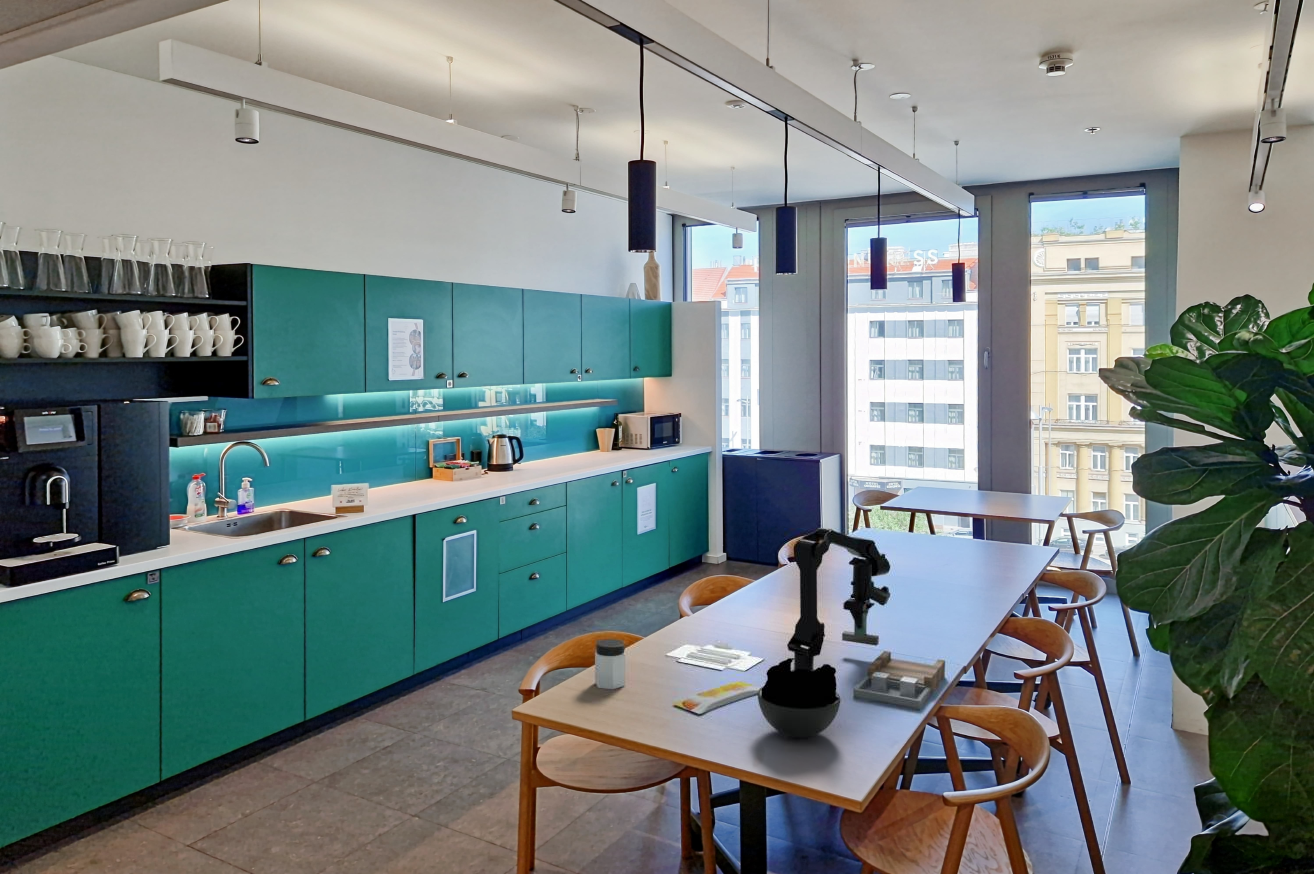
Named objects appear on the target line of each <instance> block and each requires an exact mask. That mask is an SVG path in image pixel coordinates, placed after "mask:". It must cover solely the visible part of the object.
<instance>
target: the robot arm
mask: <svg viewBox="0 0 1314 874" xmlns="http://www.w3.org/2000/svg"><path fill="white" fill-rule="evenodd" d="M831 544H832V545H834V546H835V545H836V546H837V547H840V548H843V549H846V550H847V552H848V553H850V554H851V555H853V558H852V559H851V560H850V561H849V562H848V565H850V566H853V567H852V569H853V570H852V581H850V585H851V586H852V593H851V594H850V598H848V599H846V600H845V601H844V602H843V603H842V605H843V606H842V607H843V610H845V611H849V612H850V614H851V617H852V619H853V621H855V624H856V626H857V628H858V629H861V627H862V622H863V616H864V613H865V612H867V616H868V614H869V611H870V609H871V608H872V607H874V606H875V605H876V604H877V603H878V605H881V606H883V607H884V606H885V605H887V603H888V601H889V599H890V598H891V592H890V590H889V587H888V586H886V585H884V586H882V587H876V586H875V582H874V580H872V577H878V576H883V575H887V574H888V573H889V572H890V570H891V564H890V562H889V560H888V558H887V557H886V553H883V552H882V553H881V552H880V551H879V550H878V548H877V547H878V546H877V545H876V541H874V540H872V539H868V538H867V539H866V538H862V537H857V536H850V535H847V534H844V533H841V532H840V531H839V532H838V531H835V530H834V529H832V528H829V527H822V526H821V527H819V528H817V529H816V530H814V531H813V532H811V533H808V534H807V535H804V536H803V537H802V538H800V539H798V540H797V541H796V542H795V543H794V544H793V556H794V557H793V558H794V562H795V564H796V565H797V567H798V569H799V596H800V597H799V601H800V602H799V604H800V605H799V609H800V611H799V612H800V614H799V619H798V620H797V622H796V623H795V627H794V628H795V629H794V632H793V635H792V636H791V638H790V640H789V641H788V643H787V645H786V646H787V650H788V651H789V652H792V653H793V656H794V657H793V658H794V660H793V669H791V671H795V670H797V669H806V670H810V671H814V670H815V669H814V662H815V661H814V659H815V658H814V657H816V656H820V654H821V651H822V647H823V644H824V638H825V637H826V635H825V627H826V626H825V623H824V622H821V621H820V620H819V618H818V569H819V568H820V567H821V564H822V563H823V556H825V554H826V553H827V552H829V549H830V547H831ZM855 556H856V557H855ZM871 601H873V602H871ZM874 602H876V604H875V603H874ZM806 647H807V648H806Z"/></svg>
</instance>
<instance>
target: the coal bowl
mask: <svg viewBox="0 0 1314 874" xmlns="http://www.w3.org/2000/svg"><path fill="white" fill-rule="evenodd" d="M792 662H794V657H793V658H792V657H789V658H787V659H785V660H782V661H781V662H780V661H779V663H778V664H776V665H773V666H771V667H769V669H768V670H767V671H766V678H767V679H766V681H765V684H764V685H763V686H762V687H759V688H760V689H759V691H758V694H757V701H758V706H759V708H760V711H761V713H762V715H763V717H764V719H765V720H766V721H767V723H769V725H770V726H771V727H772V728H773V729H775V730H776V731H778V732H779V733H781V734H782V735H785V736H788V737H790V738H791V737H792V738H795V739H796V738H797V739H802V738H803V739H805V738H809V737H813V736H816V735H819V734H820V733H822V732H823V731H825V730H826V729H827V728H829V726H831V724H832V723H833V722H834V720H835V719H836V716H837V714H838V712H839V709H840V706H841V696H840V695H839V693H838V692H837V678H836V672H837V669H836V668H835V667H833V666H832V665H831V664H829V663H824V664H822V666H819V667H817V668H816V669H814V671H810V670H806V669H797V670H795V671H792Z"/></svg>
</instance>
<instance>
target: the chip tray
mask: <svg viewBox="0 0 1314 874" xmlns="http://www.w3.org/2000/svg"><path fill="white" fill-rule="evenodd" d="M871 679H872V677H871V676H867V675H866V676H865V677H864V678H863V679H862V680H861V681H860V682H859V683H858V684H857V685H856V686H855V687H854V688H853V692H852V693H853V695H852V696H853V697H852V698H853V699H855V700H856V699H857V700H861V701H865V702H866V701H867V702H871V703H872V702H874V703H878V704H884V705H888V706H889V705H890V706H894V707H901V708H904V709H911V710H915V711H921V710H922V708H923V707H924V705H925V704H926V703H927V701H928V700H929V699H930V698H931V696H932V695H931V687H929V686H923V685H918V693H917V695H916V696H915V697H909V696H904V695H900V681H894V680H889V689H888V690H887V691H886V692H882V691H876V690H871Z"/></svg>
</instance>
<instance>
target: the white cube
mask: <svg viewBox="0 0 1314 874" xmlns="http://www.w3.org/2000/svg"><path fill="white" fill-rule="evenodd" d="M889 680H890V674H887V673H881V672H875V673H874V674H873V675H872V679H871V690H876V691H882V692H886V691H887V690H888V689H889Z"/></svg>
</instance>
